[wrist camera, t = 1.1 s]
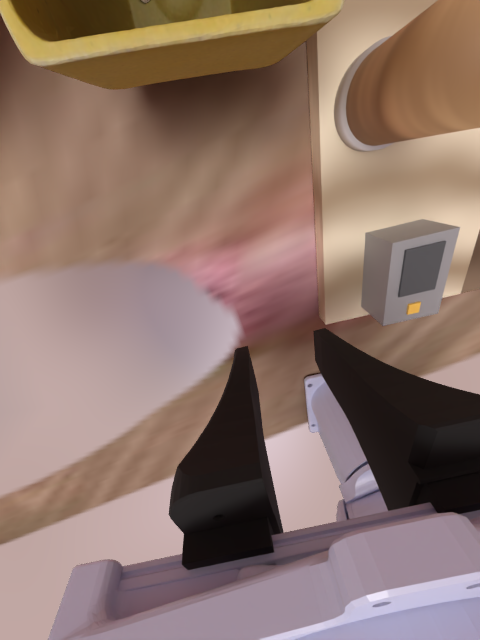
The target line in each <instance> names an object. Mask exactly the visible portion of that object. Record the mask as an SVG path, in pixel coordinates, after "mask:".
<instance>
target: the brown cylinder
mask: <svg viewBox="0 0 480 640" xmlns="http://www.w3.org/2000/svg"><path fill="white" fill-rule="evenodd" d="M334 122H335V127H336V130H337V133H338V135H339V137H340V139H341V140H342V141H343V143H344V144H345V145H346V146H348V147H349V148H351V149H353V150H356V151H361V152H366V151H373V150H379V149H383V148H386V147H388V146H390V145H392V144H393V143H395V142H400V141H406V140H412V139H418V138H423V137H429V136H435V135H440V134H446V133H452V132H458V131H463V130H469V129H475V128H480V0H438V1H436V2H435V3H434V4H433V5H431V6H430V7H429V8H427V9H426V10H425V11H424V12H422V13H421V14H420V15H418V16H417V17H416V18H414V19H413V20H412V21H411V22H409V23H408V24H407V25H405V26H404V27H403V28H402V29H400V30H399V31H398V32H396V33H395V34H394V35H392V36H388V37H385V38H383V39H381V40H379V41H377V42H376V43H374V44H373V45H372V46H370V47H369V48H368V49H367V50H365V51H364V52H363V53H362V54H360V55H359V56H358V57H357V58H356V59H355V60H354V61H353V62H352V64H351V65H350V66H349V68H348V69H347V70H346V72H345V74H344V76H343V77H342V80H341V82H340V84H339V87H338V90H337V93H336V97H335V103H334Z"/></svg>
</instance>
